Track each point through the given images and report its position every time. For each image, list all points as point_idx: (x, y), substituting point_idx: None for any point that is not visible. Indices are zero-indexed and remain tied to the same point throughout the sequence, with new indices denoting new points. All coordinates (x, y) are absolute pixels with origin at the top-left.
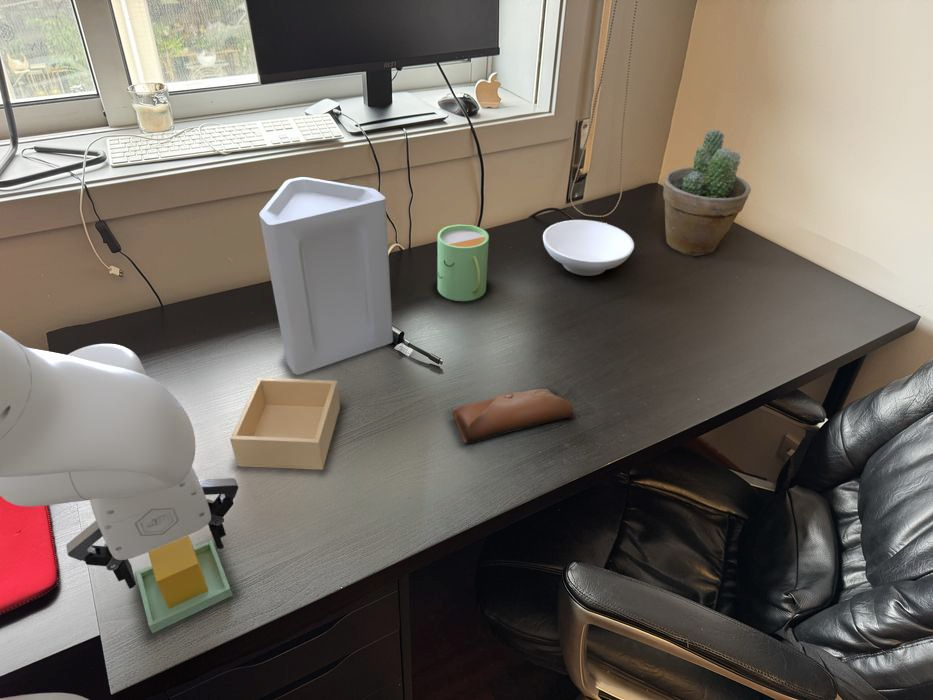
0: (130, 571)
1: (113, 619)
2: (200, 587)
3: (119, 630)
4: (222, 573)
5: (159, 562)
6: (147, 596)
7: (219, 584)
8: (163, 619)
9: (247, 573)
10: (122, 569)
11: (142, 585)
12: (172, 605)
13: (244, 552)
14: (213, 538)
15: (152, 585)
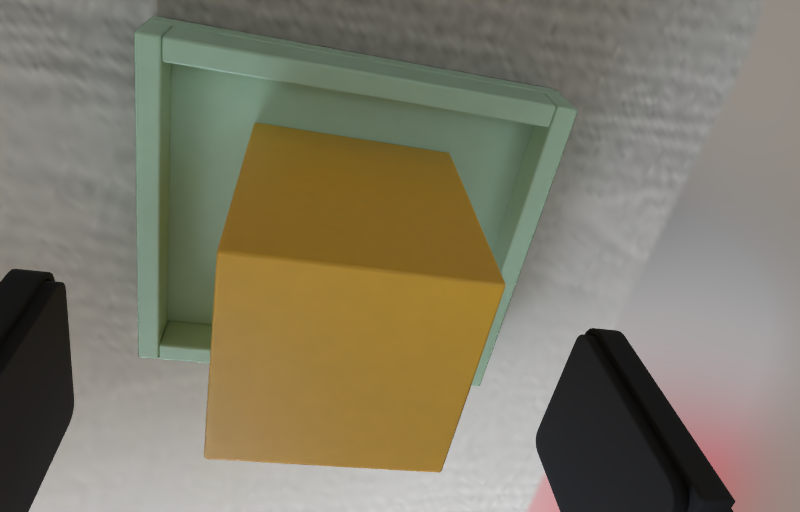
0: (603, 428)
1: (623, 254)
2: (281, 148)
3: (637, 195)
4: (146, 155)
5: (425, 390)
6: None
7: (191, 119)
8: (510, 99)
9: (36, 92)
10: (712, 490)
11: None
12: (432, 154)
13: (22, 217)
14: (26, 368)
15: None
